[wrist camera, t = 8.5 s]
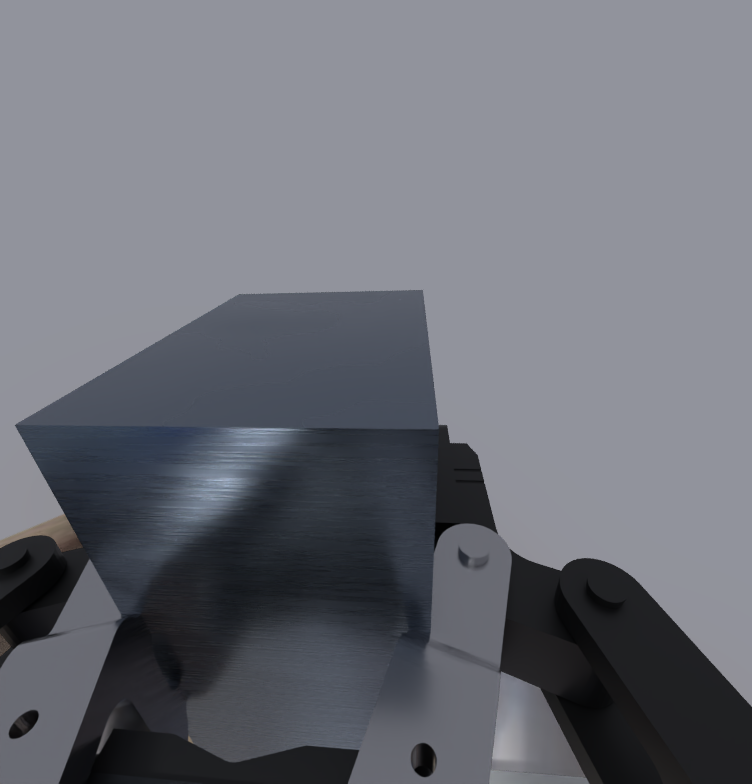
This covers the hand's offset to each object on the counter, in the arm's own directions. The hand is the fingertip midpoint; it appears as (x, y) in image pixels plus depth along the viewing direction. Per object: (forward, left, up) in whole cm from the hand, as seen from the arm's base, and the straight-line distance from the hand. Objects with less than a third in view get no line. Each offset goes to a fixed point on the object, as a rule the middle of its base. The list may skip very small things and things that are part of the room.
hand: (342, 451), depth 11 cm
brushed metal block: (0, -3, -6) cm, 7 cm away
